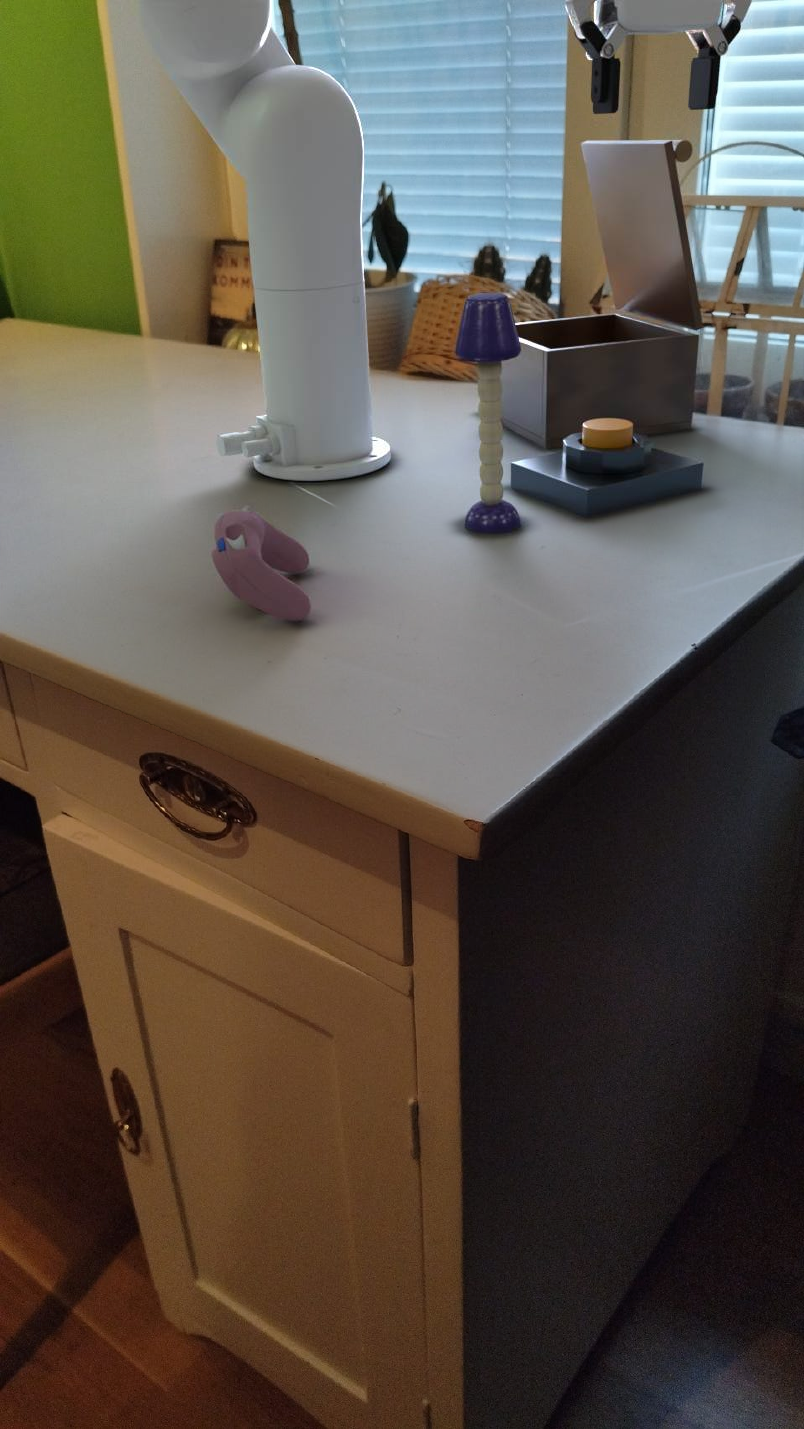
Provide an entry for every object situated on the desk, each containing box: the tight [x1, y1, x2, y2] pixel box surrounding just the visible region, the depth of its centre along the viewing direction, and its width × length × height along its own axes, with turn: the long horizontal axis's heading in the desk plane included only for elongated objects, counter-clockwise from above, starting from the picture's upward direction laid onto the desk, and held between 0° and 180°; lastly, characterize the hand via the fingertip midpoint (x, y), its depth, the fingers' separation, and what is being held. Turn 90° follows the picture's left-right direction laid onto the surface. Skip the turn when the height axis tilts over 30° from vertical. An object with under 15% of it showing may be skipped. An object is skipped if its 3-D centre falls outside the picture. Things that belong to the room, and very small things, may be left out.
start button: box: [582, 418, 633, 448], centre depth 89 cm, size 4×4×2 cm
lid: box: [580, 139, 704, 332], centre depth 105 cm, size 16×16×5 cm
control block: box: [510, 432, 705, 518], centre depth 90 cm, size 12×10×4 cm
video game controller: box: [211, 505, 312, 622], centre depth 72 cm, size 10×5×7 cm, turn 5°
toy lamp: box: [454, 292, 521, 535], centre depth 80 cm, size 5×5×17 cm
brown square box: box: [499, 312, 700, 449], centre depth 109 cm, size 16×16×9 cm
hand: (653, 111), depth 96 cm, fingers open, 9 cm apart
